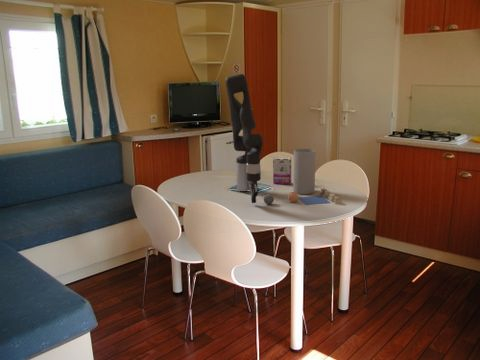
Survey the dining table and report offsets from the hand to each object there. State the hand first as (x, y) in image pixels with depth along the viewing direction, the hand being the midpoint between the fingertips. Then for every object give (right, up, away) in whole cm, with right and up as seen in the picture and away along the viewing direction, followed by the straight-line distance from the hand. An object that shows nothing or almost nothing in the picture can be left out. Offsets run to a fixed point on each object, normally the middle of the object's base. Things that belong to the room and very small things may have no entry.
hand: (253, 202), depth 247 cm
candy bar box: (+20, +10, +45) cm, 50 cm away
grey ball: (+8, +2, +1) cm, 9 cm away
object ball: (+22, +3, +4) cm, 22 cm away
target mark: (+34, +1, +8) cm, 34 cm away
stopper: (+43, +2, +10) cm, 44 cm away
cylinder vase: (+31, +5, +25) cm, 40 cm away
